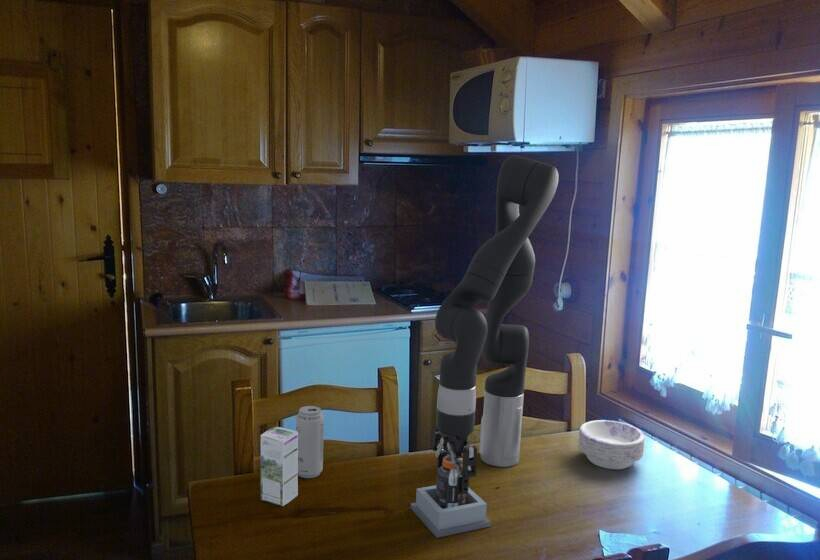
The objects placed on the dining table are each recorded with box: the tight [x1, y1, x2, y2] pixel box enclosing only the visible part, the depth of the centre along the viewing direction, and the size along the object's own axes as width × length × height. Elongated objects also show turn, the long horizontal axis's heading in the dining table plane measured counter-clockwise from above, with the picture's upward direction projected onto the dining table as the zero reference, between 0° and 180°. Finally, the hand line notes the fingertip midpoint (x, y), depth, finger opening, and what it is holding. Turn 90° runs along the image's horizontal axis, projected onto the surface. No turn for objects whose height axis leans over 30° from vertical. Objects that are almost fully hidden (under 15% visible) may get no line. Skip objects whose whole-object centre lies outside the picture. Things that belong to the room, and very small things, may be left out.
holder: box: [410, 484, 492, 538], centre depth 138 cm, size 12×12×4 cm
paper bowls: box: [578, 419, 646, 470], centre depth 167 cm, size 15×15×8 cm
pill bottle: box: [435, 455, 466, 509], centre depth 138 cm, size 6×6×11 cm
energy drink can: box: [295, 405, 325, 479], centre depth 154 cm, size 6×6×15 cm
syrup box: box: [260, 426, 299, 507], centre depth 142 cm, size 6×6×14 cm
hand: (451, 484), depth 137 cm, fingers open, 8 cm apart
